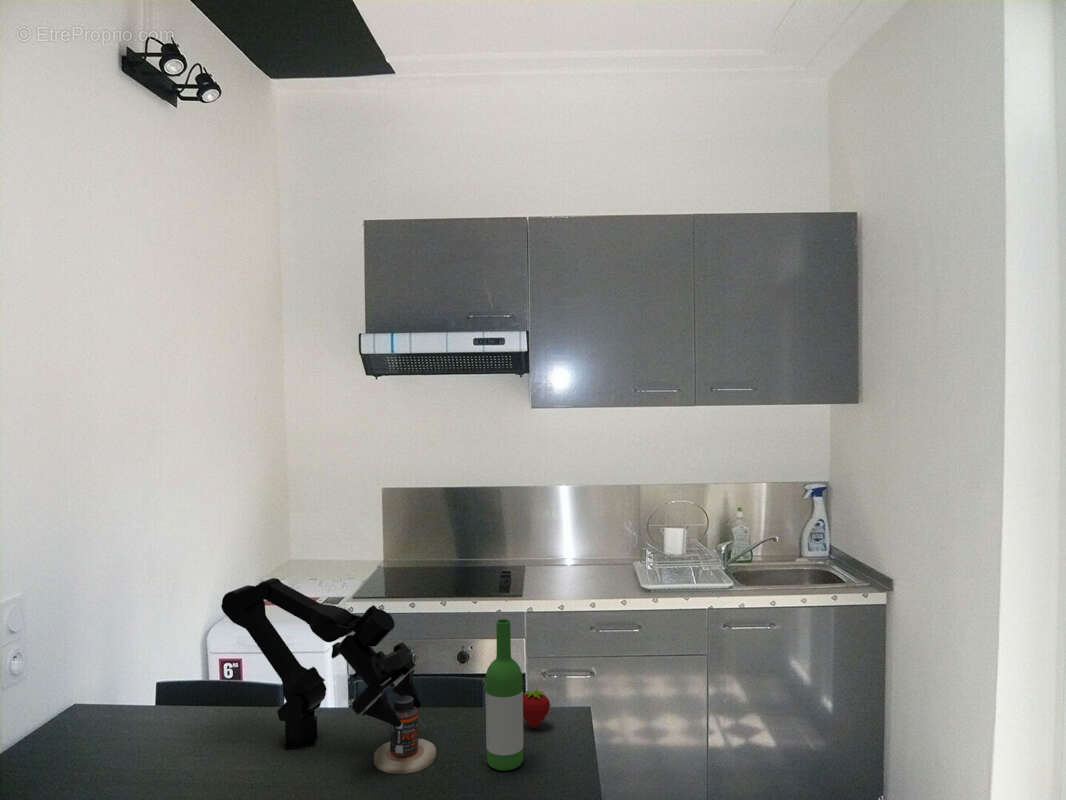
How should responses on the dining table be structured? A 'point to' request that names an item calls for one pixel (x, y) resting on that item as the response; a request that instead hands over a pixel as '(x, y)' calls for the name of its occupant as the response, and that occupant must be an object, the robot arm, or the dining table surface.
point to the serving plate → (405, 758)
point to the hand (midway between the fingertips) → (410, 716)
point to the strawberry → (535, 707)
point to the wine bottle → (504, 705)
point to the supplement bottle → (404, 728)
